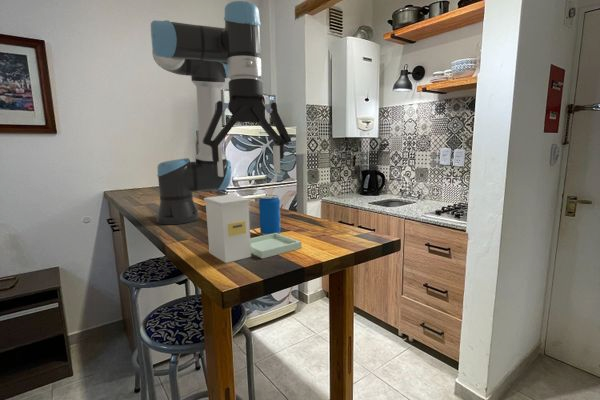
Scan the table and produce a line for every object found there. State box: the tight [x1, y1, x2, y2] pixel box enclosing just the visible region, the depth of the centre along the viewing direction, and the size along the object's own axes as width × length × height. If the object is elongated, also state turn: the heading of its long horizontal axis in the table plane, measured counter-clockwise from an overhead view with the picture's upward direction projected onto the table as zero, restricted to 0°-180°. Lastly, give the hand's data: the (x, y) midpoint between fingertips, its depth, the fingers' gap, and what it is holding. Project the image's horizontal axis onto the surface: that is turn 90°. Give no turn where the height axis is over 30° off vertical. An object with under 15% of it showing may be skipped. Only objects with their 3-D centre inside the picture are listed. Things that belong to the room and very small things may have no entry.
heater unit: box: [203, 194, 252, 264], centre depth 84 cm, size 11×8×15 cm
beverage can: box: [258, 194, 282, 236], centre depth 103 cm, size 6×6×12 cm
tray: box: [250, 233, 302, 260], centre depth 90 cm, size 12×12×2 cm
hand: (249, 174), depth 77 cm, fingers open, 13 cm apart
